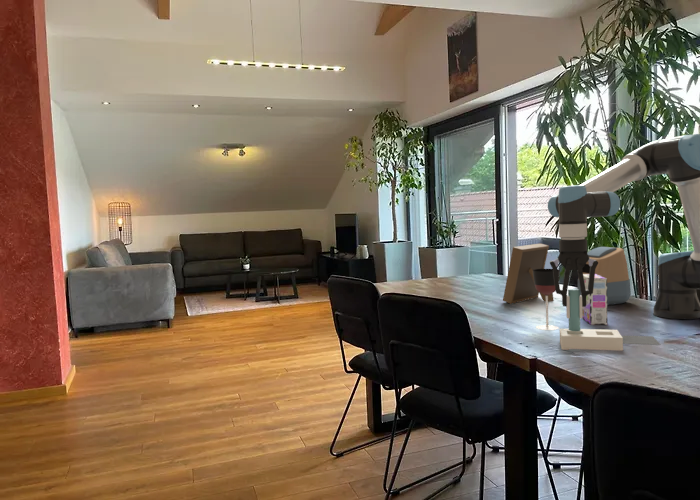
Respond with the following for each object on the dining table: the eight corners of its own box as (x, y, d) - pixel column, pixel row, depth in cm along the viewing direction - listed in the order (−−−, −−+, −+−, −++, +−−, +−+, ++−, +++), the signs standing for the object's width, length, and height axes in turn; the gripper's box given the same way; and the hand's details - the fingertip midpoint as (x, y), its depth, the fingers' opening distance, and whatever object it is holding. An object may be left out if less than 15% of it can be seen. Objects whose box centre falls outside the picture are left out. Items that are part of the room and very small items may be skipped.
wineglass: (538, 324, 186) (537, 268, 185) (564, 326, 181) (562, 269, 179) (530, 328, 180) (529, 271, 179) (556, 331, 175) (555, 271, 173)
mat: (652, 337, 160) (652, 336, 160) (660, 345, 151) (660, 344, 151) (616, 336, 164) (616, 335, 164) (622, 344, 154) (622, 343, 154)
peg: (580, 328, 156) (579, 289, 155) (580, 331, 153) (580, 290, 152) (568, 328, 157) (567, 289, 156) (569, 330, 154) (568, 290, 153)
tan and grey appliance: (573, 300, 228) (572, 247, 227) (608, 297, 231) (607, 245, 230) (598, 306, 212) (597, 250, 210) (635, 303, 215) (634, 247, 213)
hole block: (617, 342, 156) (617, 329, 156) (622, 351, 147) (622, 337, 147) (559, 341, 162) (559, 328, 161) (561, 349, 152) (561, 336, 152)
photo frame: (502, 302, 231) (501, 246, 229) (529, 296, 245) (529, 243, 243) (533, 306, 219) (532, 247, 218) (559, 299, 233) (559, 243, 231)
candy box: (608, 325, 179) (607, 278, 178) (590, 325, 180) (589, 278, 179) (597, 317, 193) (597, 273, 192) (580, 317, 194) (579, 273, 193)
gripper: (600, 236, 154) (602, 315, 156) (544, 238, 160) (545, 314, 161) (604, 238, 147) (605, 320, 149) (544, 240, 152) (546, 319, 154)
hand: (574, 317), depth 155 cm, fingers closed on peg, 3 cm apart
